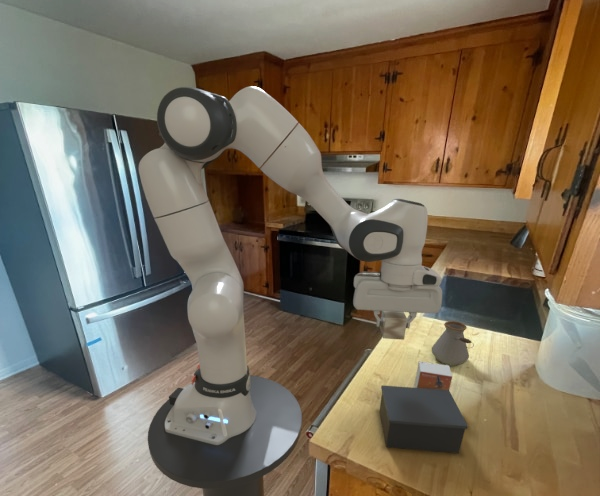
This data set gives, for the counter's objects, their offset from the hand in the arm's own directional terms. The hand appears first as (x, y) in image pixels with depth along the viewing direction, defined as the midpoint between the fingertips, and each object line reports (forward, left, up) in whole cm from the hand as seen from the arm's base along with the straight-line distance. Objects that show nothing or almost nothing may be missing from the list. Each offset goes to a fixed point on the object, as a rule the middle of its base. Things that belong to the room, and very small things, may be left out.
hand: (392, 326), depth 81 cm
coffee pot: (+25, +20, -23) cm, 39 cm away
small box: (+13, +2, -23) cm, 26 cm away
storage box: (+7, -10, -23) cm, 26 cm away
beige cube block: (0, 0, -2) cm, 2 cm away
